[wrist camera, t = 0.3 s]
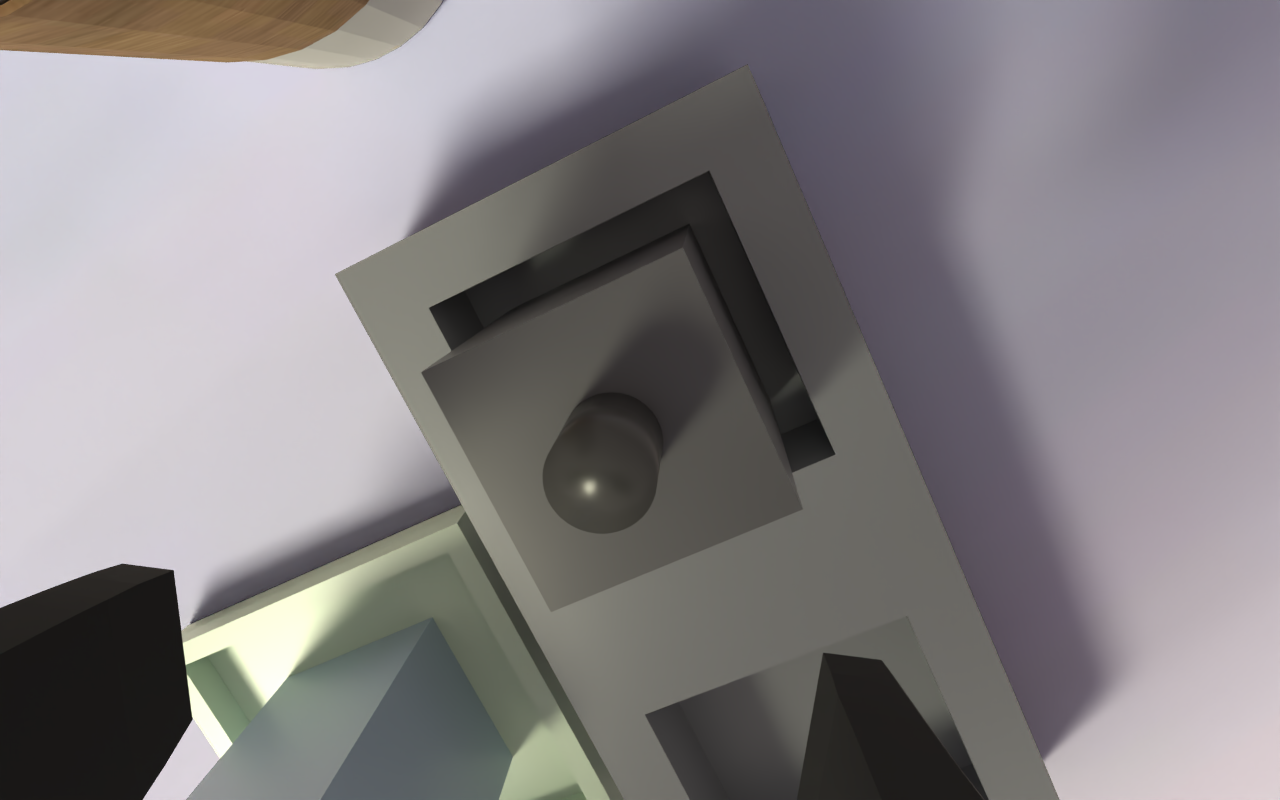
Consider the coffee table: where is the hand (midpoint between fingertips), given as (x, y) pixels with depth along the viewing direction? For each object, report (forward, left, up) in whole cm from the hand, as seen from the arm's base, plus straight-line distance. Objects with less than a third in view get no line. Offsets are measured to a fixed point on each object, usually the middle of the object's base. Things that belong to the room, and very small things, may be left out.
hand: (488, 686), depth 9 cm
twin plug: (+2, +1, -9) cm, 9 cm away
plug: (-7, -4, -9) cm, 13 cm away
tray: (-7, -4, -10) cm, 13 cm away
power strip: (+2, -3, -10) cm, 10 cm away
